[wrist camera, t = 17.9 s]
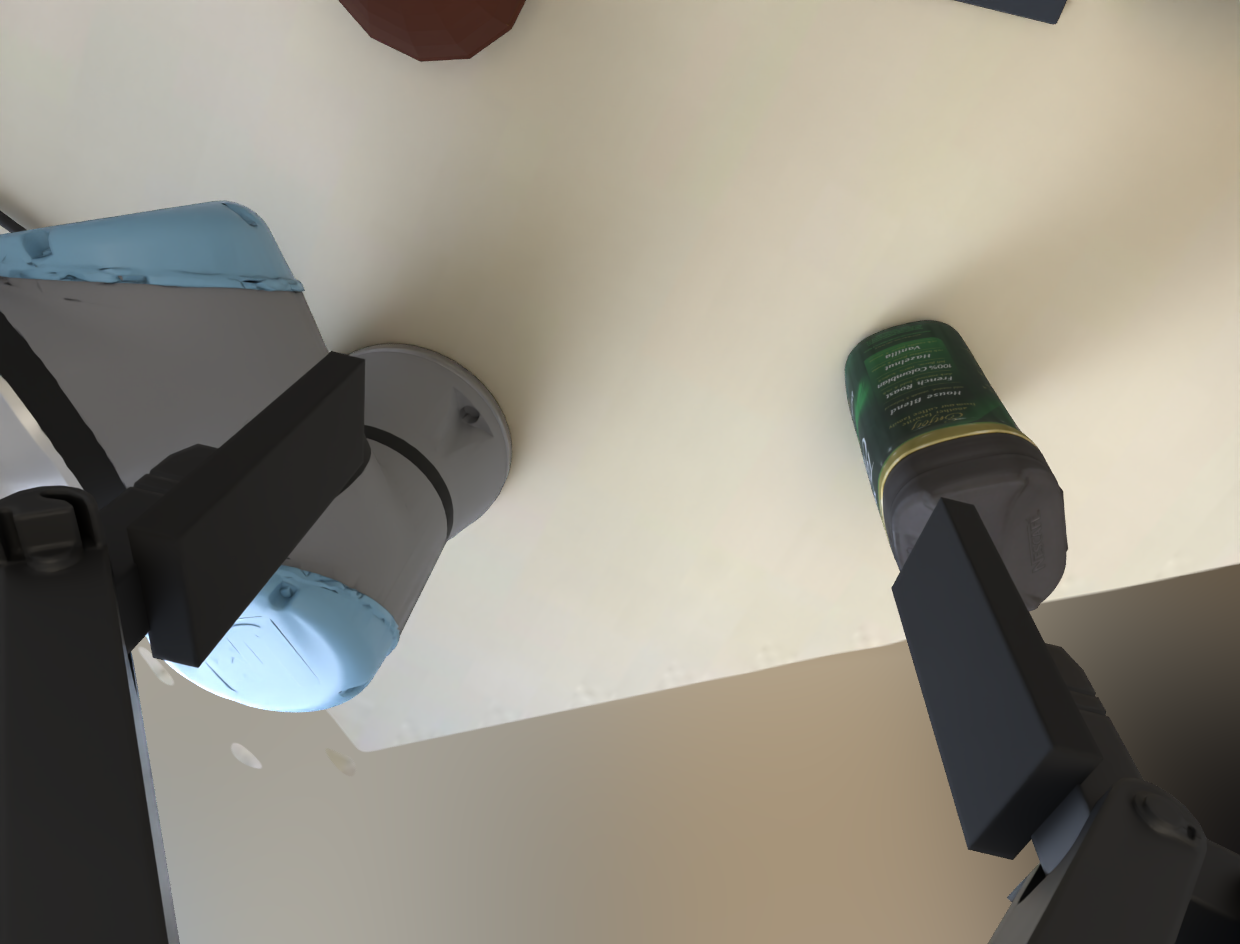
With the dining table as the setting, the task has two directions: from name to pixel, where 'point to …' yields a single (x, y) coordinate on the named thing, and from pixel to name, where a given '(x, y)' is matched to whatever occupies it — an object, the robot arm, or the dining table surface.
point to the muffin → (435, 25)
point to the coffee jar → (952, 451)
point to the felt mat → (1025, 8)
